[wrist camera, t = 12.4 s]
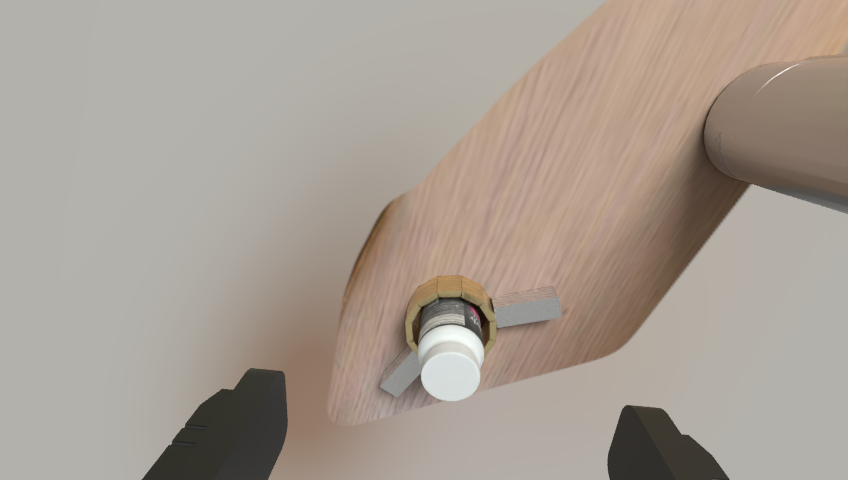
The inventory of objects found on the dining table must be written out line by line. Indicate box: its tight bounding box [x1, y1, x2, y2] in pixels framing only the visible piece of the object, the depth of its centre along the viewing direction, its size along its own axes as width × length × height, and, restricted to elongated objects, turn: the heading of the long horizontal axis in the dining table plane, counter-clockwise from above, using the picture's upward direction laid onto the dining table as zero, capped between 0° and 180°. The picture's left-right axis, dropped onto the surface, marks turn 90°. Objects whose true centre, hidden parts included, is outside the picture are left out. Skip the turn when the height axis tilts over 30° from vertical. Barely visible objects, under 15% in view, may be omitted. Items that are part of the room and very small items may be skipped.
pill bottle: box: [417, 297, 484, 401], centre depth 36 cm, size 6×6×10 cm
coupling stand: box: [380, 276, 562, 398], centre depth 39 cm, size 20×9×3 cm, turn 123°
